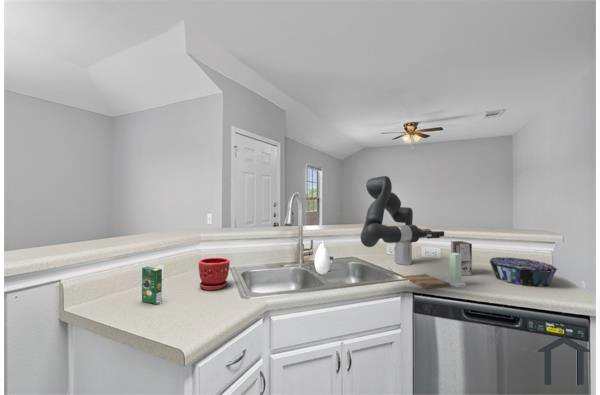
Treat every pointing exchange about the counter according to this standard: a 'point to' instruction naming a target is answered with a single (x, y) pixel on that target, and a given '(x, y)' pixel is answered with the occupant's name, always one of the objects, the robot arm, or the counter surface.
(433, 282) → the wooden cutting board
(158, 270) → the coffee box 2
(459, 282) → the mint green tall block
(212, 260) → the plant pot
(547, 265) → the decorative bowl
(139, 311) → the counter surface
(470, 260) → the coffee box
